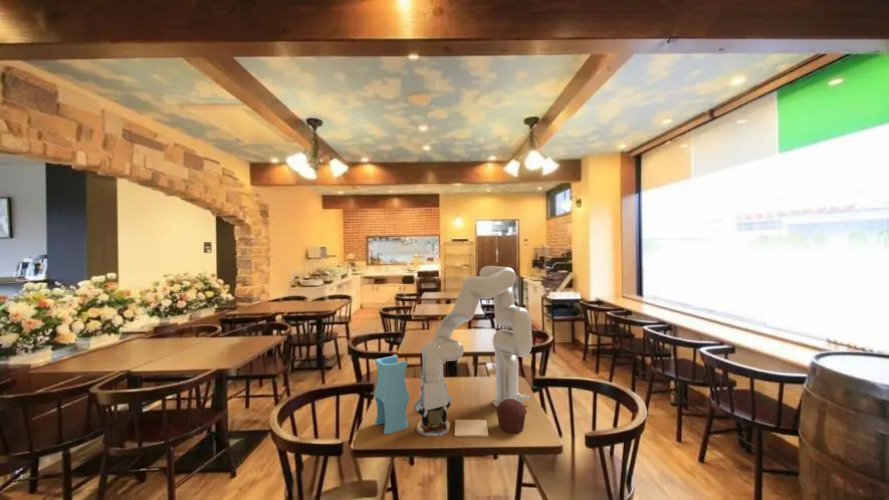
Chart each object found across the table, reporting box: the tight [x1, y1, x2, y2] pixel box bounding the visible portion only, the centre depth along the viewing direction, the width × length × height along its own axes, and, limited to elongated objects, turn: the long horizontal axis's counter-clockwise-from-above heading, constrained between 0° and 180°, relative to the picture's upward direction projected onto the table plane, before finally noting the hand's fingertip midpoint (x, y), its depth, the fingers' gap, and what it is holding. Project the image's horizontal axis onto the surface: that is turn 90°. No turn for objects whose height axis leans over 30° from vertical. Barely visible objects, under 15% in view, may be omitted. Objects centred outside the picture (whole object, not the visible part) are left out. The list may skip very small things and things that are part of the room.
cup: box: [424, 407, 444, 429], centre depth 146 cm, size 8×7×8 cm
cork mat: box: [454, 419, 489, 438], centre depth 145 cm, size 12×12×1 cm
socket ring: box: [416, 420, 451, 437], centre depth 146 cm, size 12×12×1 cm
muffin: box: [495, 399, 528, 434], centre depth 145 cm, size 12×11×10 cm
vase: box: [373, 354, 410, 435], centre depth 148 cm, size 10×10×25 cm
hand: (434, 423), depth 146 cm, fingers closed on cup, 6 cm apart
